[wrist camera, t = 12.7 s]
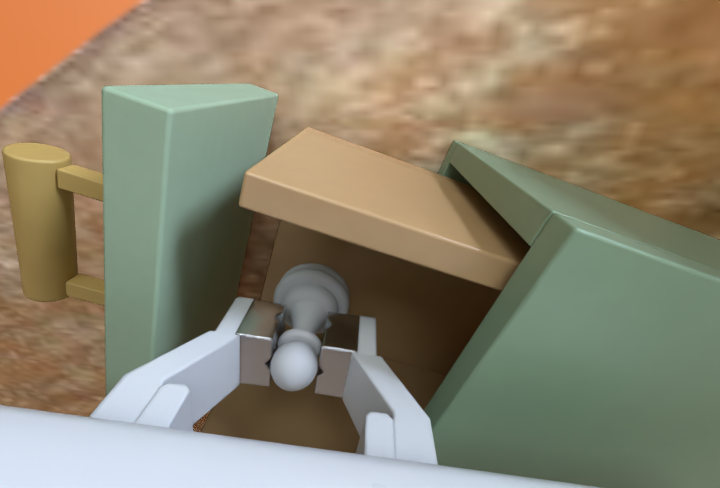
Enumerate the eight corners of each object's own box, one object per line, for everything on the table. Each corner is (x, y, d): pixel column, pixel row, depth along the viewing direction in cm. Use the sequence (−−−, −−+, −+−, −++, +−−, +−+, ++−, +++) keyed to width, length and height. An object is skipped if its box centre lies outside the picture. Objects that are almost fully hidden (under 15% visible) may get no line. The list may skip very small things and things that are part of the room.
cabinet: (355, 352, 19) (343, 557, 11) (453, 139, 14) (576, 227, 5) (574, 414, 21) (706, 630, 13) (739, 247, 15) (1161, 438, 7)
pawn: (309, 246, 11) (279, 328, 7) (365, 292, 12) (363, 387, 8) (263, 291, 12) (215, 384, 8) (318, 331, 13) (296, 432, 9)
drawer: (114, 288, 16) (-57, 426, 10) (114, 33, 11) (-227, -30, 5) (447, 381, 18) (488, 546, 12) (568, 200, 14) (749, 311, 7)
